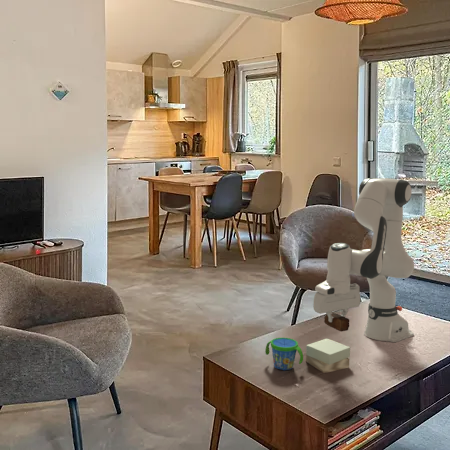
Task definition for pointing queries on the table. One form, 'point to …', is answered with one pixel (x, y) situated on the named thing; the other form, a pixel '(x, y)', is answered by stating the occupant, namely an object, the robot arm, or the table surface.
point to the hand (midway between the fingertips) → (336, 320)
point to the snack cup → (284, 352)
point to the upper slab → (328, 351)
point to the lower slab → (326, 367)
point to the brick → (338, 322)
